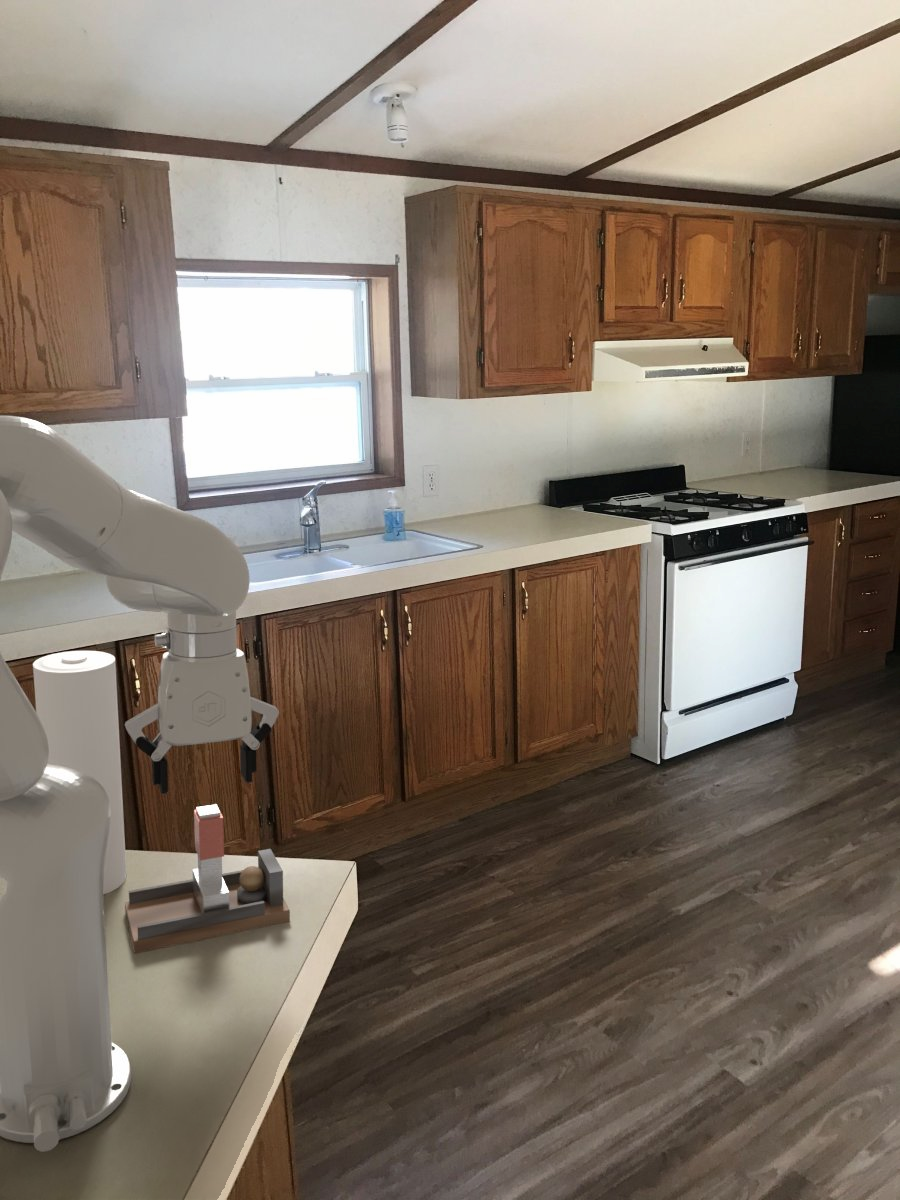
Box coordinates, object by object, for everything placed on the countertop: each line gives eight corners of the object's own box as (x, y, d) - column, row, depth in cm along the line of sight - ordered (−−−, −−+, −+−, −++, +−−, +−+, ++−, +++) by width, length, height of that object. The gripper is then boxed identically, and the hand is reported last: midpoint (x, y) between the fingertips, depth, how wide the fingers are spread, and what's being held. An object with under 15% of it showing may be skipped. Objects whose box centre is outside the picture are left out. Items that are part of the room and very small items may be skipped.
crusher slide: (229, 915, 115) (227, 820, 112) (203, 920, 114) (200, 824, 111) (217, 886, 121) (215, 796, 118) (193, 891, 120) (190, 800, 117)
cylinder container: (33, 894, 122) (16, 665, 115) (74, 858, 131) (60, 644, 124) (102, 903, 120) (89, 671, 113) (139, 866, 129) (129, 649, 122)
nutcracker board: (289, 921, 117) (289, 876, 116) (134, 953, 110) (132, 905, 109) (271, 885, 125) (270, 843, 124) (125, 913, 118) (123, 868, 117)
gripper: (126, 655, 103) (131, 806, 107) (286, 644, 110) (286, 785, 114) (118, 639, 110) (124, 781, 113) (269, 629, 117) (270, 763, 120)
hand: (205, 783), depth 113 cm, fingers open, 9 cm apart
